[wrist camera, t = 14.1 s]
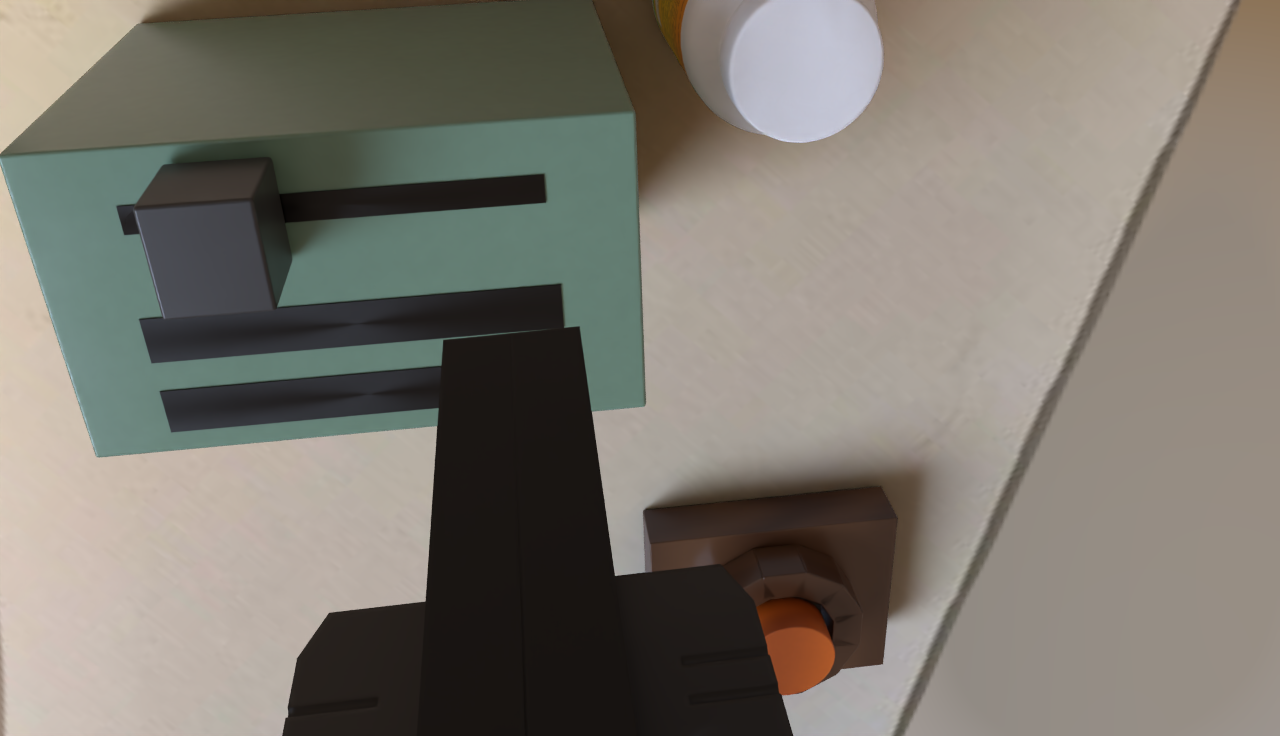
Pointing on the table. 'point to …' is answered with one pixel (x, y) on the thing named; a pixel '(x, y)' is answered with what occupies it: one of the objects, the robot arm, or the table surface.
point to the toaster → (341, 214)
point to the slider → (215, 237)
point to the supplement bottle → (778, 61)
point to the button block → (794, 557)
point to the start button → (796, 643)
